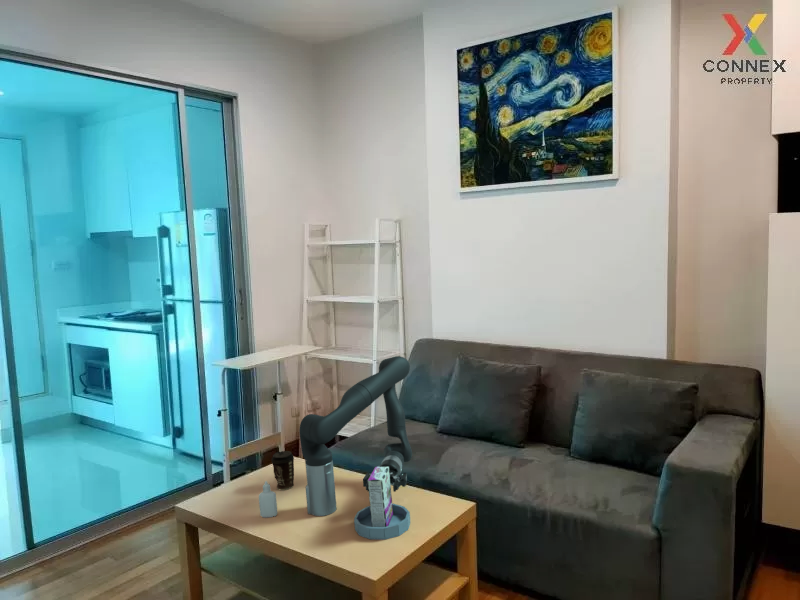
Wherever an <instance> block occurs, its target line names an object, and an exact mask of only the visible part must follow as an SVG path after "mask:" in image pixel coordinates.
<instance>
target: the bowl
mask: <svg viewBox="0 0 800 600" xmlns="http://www.w3.org/2000/svg"><path fill="white" fill-rule="evenodd" d="M392 508H393V516H392V518H391V520H390V523H389V525H388V526H387V527H372V521H371V510H370V505H368V506H365V507H363V508H361V509H360V510H358V511H357V512H356V514H355V516H354V517H353V520H354V521H353V522H354V531H355V532H356V533H357V534H358V536H360V537H362V538H364V539H368V540H388V539H392V538H396V537H400V536H401V535H403V534H404V533H406V532H407V531H409V530H408V529H410V527H411V513H410V511H409V510H408V508H406V506H404V505H400V504H398V503H397V504H396V503H392ZM405 531H406V532H405Z"/></svg>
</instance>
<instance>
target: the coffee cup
mask: <svg viewBox="0 0 800 600" xmlns="http://www.w3.org/2000/svg"><path fill="white" fill-rule="evenodd" d="M270 460H271V464H272V466H273V475H274V478H275V480H276V483H277V485H276V490H279V489H281V490H280V491H287V490H290V489H291V488H293V487H294V484H295V482H294V480H295V479H294V478H295V467H294V466H295V465H294V463H295V462H294V460H295V458H294V455H293V453H292V451H290V450H281V451H277V452H275V453H274V454H272V457H271V459H270ZM289 488H290V489H289ZM286 489H287V490H286Z"/></svg>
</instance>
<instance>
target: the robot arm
mask: <svg viewBox="0 0 800 600" xmlns="http://www.w3.org/2000/svg"><path fill="white" fill-rule="evenodd" d="M410 367H411V366H410V362H409V360H408V359H407V358H405V357H403V356H392V357H389V358H386V359H383V360H381V362H380V363H379V366H378V372H377V373H375V374H372V375H370V376H368V377H366V378H364V379H361V380H359V381H358V382H356V383H355V384H353V385H352V386H351V387H350V388H348V389H347V390H346V391H345V392H344V393H343V395H342V397H341V399H340V402H339V405H338V406H337V407H336V408H335V409H333V410H332V411H331V412H330V413H328V414H326V415H318V414H314V413H309V414H306V415H305V416H303V418H302V419H301V421H300V424H299V431H298V432H299V439H300V447H301V448H300V449H301V454H302V456H303V458H304V462H305V474H306V484H307V485H305V496H306V497H305V499H306V508H307V514H308V515H312V516H316V517H323V516H328V515H331V514H333V513H335V512H336V510H337V498H336V497H337V496H336V485H335V484H336V483H335V473H334V472H335V471H334V461H333V453H332V451H331V450H330V449H329V448H328V447H327V446H326V445H325V444H327V443H328V442H331V440H333V439H334V438H335V437H336V436H337V435H338V434H339V432H341V430H342V429H343V428H345V426H346V425H347V424H348V423H349V424H350V422H351V421H352V420H353V419H355V418H356V417H357V416H358V415H360V413H362V412H363V411H364V410H365V409H367V408H368V407H369V406H370V405H372V404H373V403H374V402H375V401H376V400H377V399H379V398H380V397H381V396H383V400H384V406H385V412H386V428H387V429H386V430H387V431H386V432H387V436H388V437H390V438H392V437H393V438H398V439H399V440H400V442H397V443H388V444H386V445H385V446H384V449H383V456H384V458H383V460H382V461H381V463H380V465H379V467H389V473H390V485H391V487H392V489H393V490H392V491H393V492H394V493H395V492H397V491H398V490H399V488H401V486H402V487H407V481H408V473H407V472H403V473H402V470H403V466H404V464H405V463H407V462H410V461H411V459H412V457H413V451H412V450H413V449H412V447H411V444H410V441H409V438H408V434H407V427H406V425H407V424H406V414H405V410H404V407H403V405H402V403H401V401H400V399H399V397H398V394H397V391H396V389H397V388H396V384H398V383H400V382H401V381H403V380H404V379H406V378H407V377H408V374H409V373H410V370H411V369H410ZM401 473H402V474H401ZM371 474H372V473H371V472H366V474H365V476H364V477H363V478H362V485H363V487H364V488H365V490H366V491H367V492H368V493H369V489H368V479H369V477H370V476H371Z"/></svg>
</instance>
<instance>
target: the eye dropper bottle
mask: <svg viewBox="0 0 800 600" xmlns="http://www.w3.org/2000/svg"><path fill="white" fill-rule="evenodd" d="M258 502H259V503H258V504H259V512H260V513H259V515H260V517H261V516H262V517H261V518H273V516H274V517H276V516H277V515H278V503H277V495H276V492H274V491H273V490H271V485H270V483H268V481H267V480H265V481H264V484H263V485H262V492H260V493H259V495H258Z"/></svg>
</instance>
